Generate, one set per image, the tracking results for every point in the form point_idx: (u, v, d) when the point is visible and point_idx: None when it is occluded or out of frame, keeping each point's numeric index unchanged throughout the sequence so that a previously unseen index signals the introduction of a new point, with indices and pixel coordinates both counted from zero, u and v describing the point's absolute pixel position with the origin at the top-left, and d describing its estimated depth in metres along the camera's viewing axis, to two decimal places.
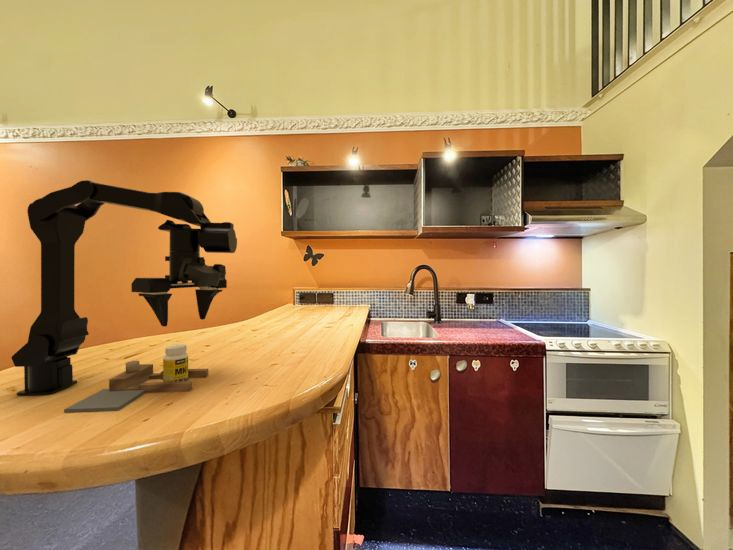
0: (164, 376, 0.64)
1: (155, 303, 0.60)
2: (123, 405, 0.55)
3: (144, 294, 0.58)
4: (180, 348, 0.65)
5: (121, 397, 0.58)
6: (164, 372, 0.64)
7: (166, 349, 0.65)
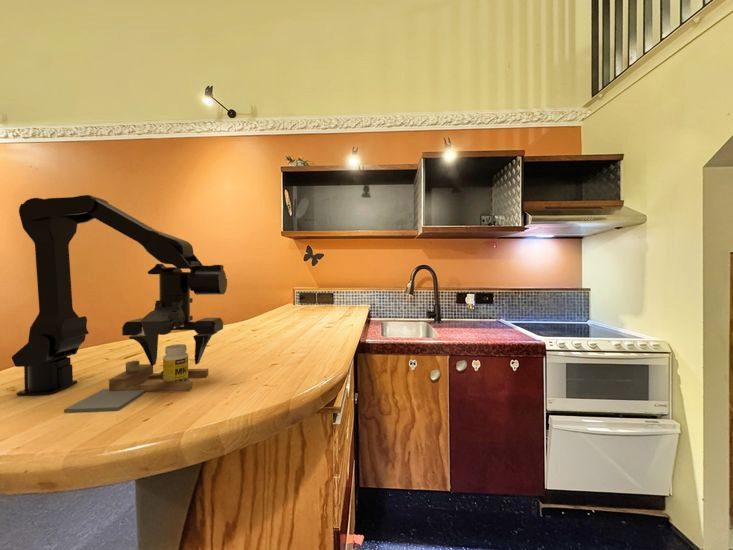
0: (164, 376, 0.64)
1: None
2: (123, 405, 0.55)
3: None
4: (180, 348, 0.65)
5: (121, 397, 0.58)
6: (164, 372, 0.64)
7: (166, 349, 0.65)
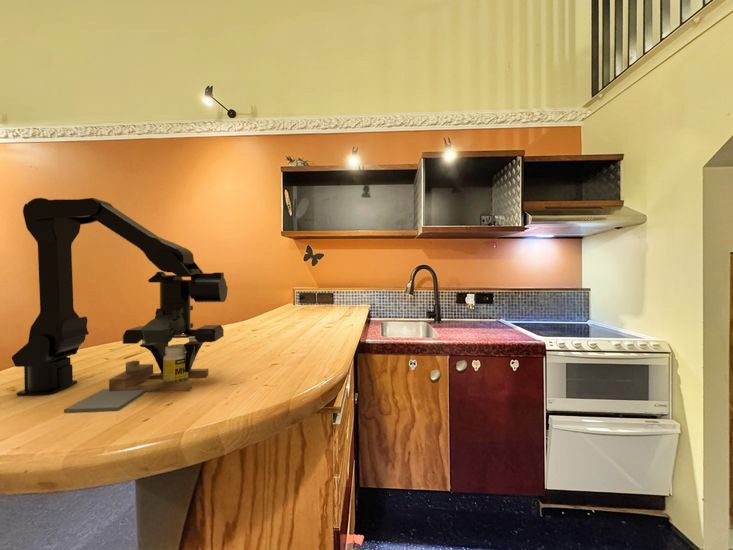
0: (164, 376, 0.64)
1: None
2: (123, 405, 0.55)
3: None
4: (180, 348, 0.65)
5: (121, 397, 0.58)
6: (164, 372, 0.64)
7: (166, 349, 0.65)
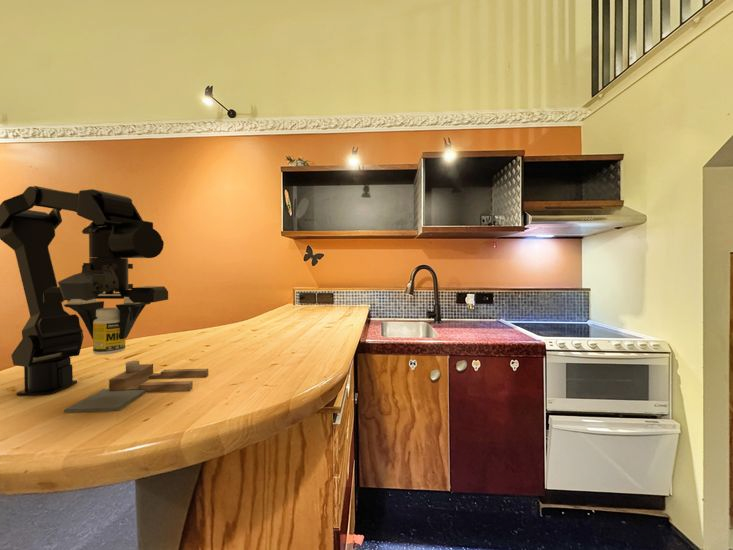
0: (94, 342, 0.56)
1: None
2: (123, 405, 0.55)
3: None
4: (113, 310, 0.56)
5: (121, 397, 0.58)
6: (94, 337, 0.55)
7: (96, 311, 0.56)
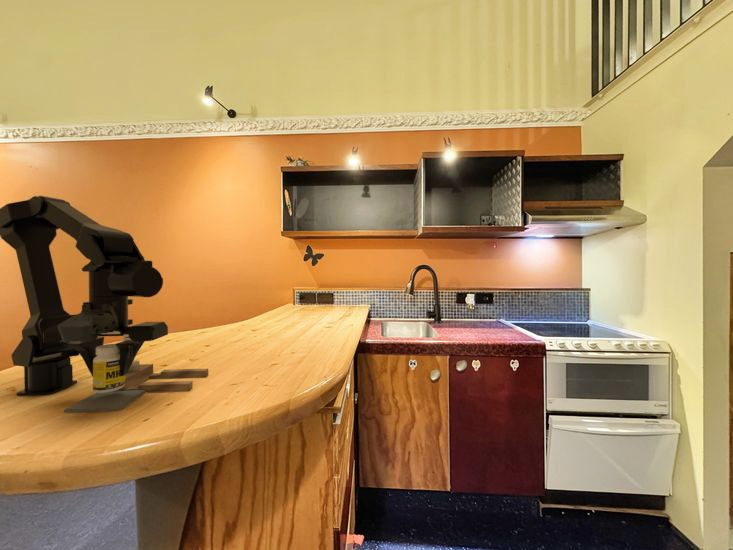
0: (93, 380, 0.56)
1: None
2: (123, 405, 0.55)
3: None
4: (113, 348, 0.56)
5: (121, 397, 0.58)
6: (93, 376, 0.56)
7: (96, 349, 0.56)
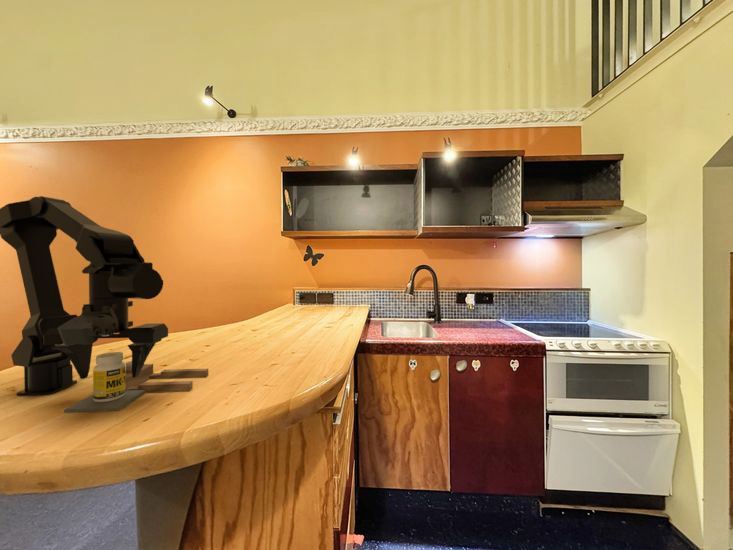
0: (94, 389, 0.56)
1: None
2: (123, 405, 0.55)
3: None
4: (113, 357, 0.57)
5: (121, 397, 0.58)
6: (94, 385, 0.56)
7: (96, 358, 0.56)
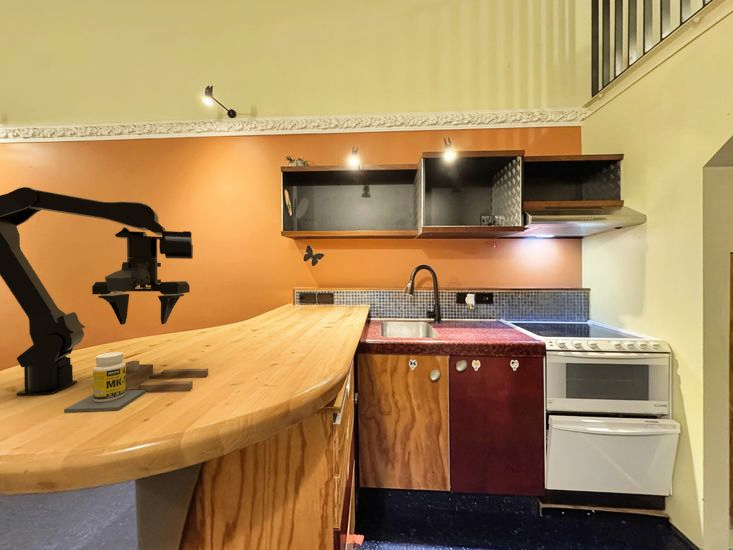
0: (94, 389, 0.56)
1: None
2: (123, 405, 0.55)
3: None
4: (113, 357, 0.57)
5: (121, 397, 0.58)
6: (94, 385, 0.56)
7: (96, 358, 0.56)
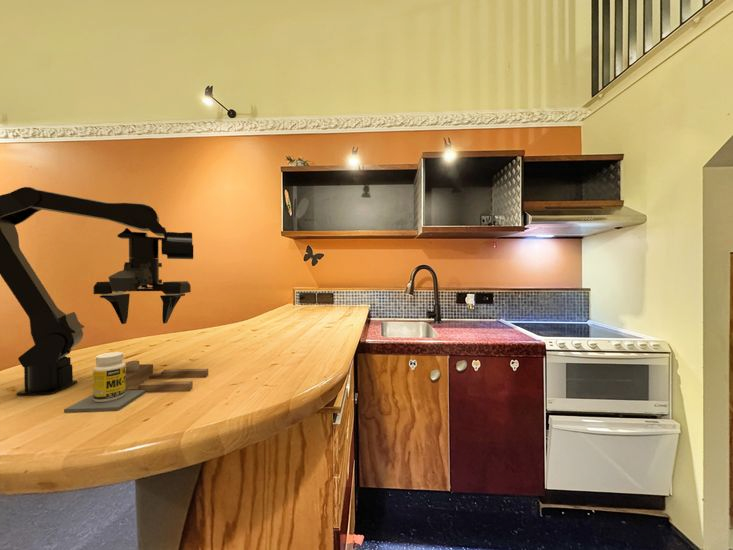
0: (94, 389, 0.56)
1: None
2: (123, 405, 0.55)
3: None
4: (113, 357, 0.57)
5: (121, 397, 0.58)
6: (94, 385, 0.56)
7: (96, 358, 0.56)
